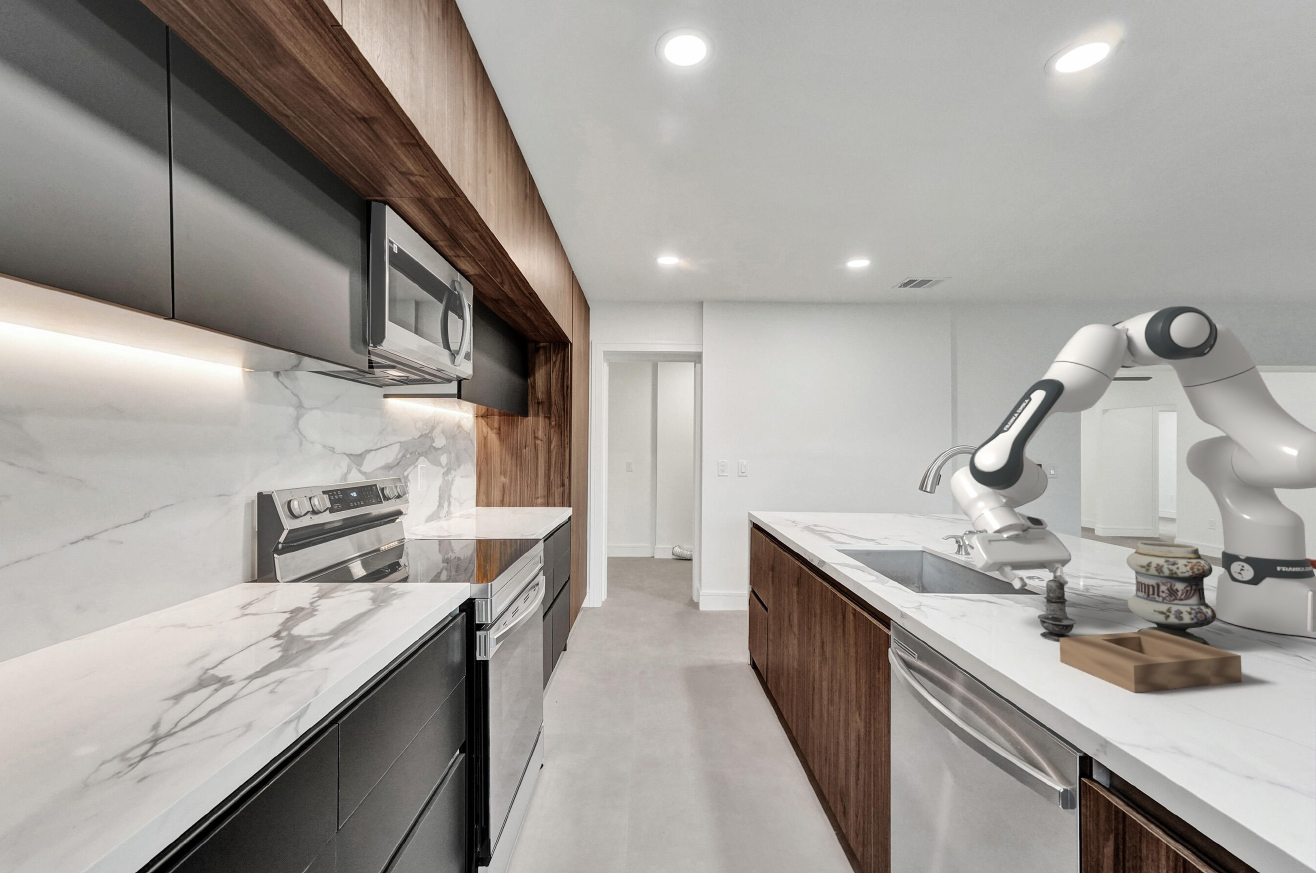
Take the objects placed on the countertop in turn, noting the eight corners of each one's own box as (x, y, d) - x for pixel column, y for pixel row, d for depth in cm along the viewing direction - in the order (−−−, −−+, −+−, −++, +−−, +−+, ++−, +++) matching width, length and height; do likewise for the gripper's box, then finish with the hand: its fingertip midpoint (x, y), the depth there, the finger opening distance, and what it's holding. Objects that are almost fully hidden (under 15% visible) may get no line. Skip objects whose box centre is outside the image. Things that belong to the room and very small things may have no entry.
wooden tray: (1156, 652, 94) (1155, 630, 94) (1242, 681, 82) (1240, 655, 82) (1060, 661, 90) (1059, 637, 90) (1134, 692, 78) (1133, 665, 79)
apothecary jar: (1178, 629, 106) (1174, 539, 106) (1237, 652, 94) (1233, 550, 94) (1112, 628, 107) (1109, 538, 107) (1163, 650, 95) (1159, 549, 95)
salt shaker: (1063, 632, 104) (1061, 571, 105) (1084, 643, 99) (1081, 578, 99) (1031, 632, 105) (1029, 571, 105) (1050, 642, 99) (1048, 578, 100)
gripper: (966, 522, 111) (1005, 579, 101) (1050, 519, 114) (1096, 575, 104) (951, 540, 115) (988, 597, 105) (1033, 536, 118) (1075, 591, 109)
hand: (1042, 586), depth 105 cm, fingers open, 8 cm apart
